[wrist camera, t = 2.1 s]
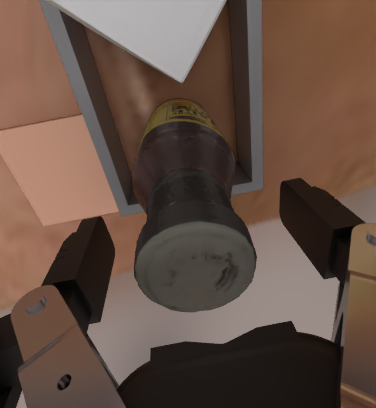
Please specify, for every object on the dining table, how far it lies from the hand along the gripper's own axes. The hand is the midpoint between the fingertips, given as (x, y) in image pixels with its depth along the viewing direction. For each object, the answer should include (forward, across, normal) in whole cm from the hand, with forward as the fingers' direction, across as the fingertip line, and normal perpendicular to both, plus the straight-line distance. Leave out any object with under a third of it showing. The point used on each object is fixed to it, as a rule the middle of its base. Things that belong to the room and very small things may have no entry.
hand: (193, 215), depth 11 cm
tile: (+16, +12, +3) cm, 20 cm away
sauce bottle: (+16, 0, 0) cm, 16 cm away
